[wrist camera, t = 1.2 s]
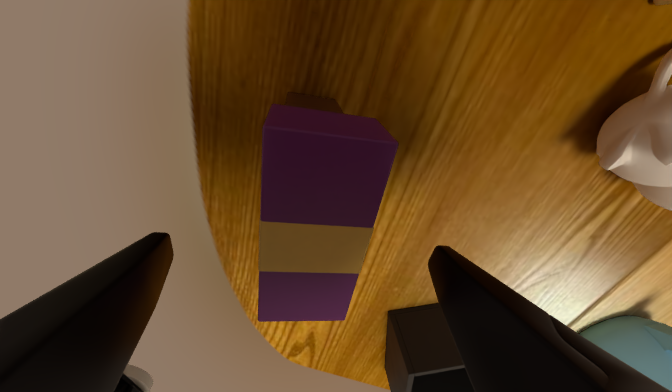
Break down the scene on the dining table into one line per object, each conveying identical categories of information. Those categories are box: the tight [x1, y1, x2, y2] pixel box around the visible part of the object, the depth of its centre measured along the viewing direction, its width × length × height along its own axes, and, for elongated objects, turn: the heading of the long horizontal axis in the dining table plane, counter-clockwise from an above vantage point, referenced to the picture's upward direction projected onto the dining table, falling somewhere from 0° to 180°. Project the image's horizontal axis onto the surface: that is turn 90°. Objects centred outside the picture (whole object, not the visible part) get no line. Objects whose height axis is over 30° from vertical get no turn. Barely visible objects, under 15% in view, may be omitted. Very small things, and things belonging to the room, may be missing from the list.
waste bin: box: [385, 303, 475, 392], centre depth 30 cm, size 13×13×6 cm
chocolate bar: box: [258, 104, 398, 321], centre depth 10 cm, size 8×4×2 cm, turn 170°
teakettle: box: [580, 316, 672, 391], centre depth 35 cm, size 15×15×11 cm
